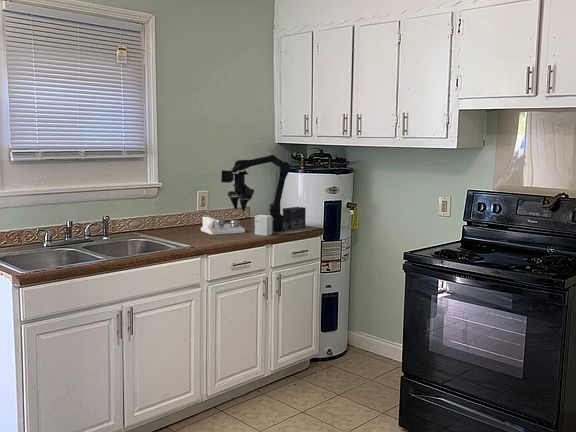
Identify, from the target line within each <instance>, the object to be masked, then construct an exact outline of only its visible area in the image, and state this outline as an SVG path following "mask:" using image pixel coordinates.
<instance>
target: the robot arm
mask: <svg viewBox="0 0 576 432" xmlns="http://www.w3.org/2000/svg"><path fill="white" fill-rule="evenodd" d="M268 163H272V164H274V165H275V166H276V167H278V168H277V170H278V171H277V173H278V175H277V176H278V177H277V182H276V186H275V190H274V196H273V201H272V202H271V203H270V202H269V204H268V208H267V210H268V214H269V216H272V232H284V231H286V229H284V228H283V219H284V217H283V214H281V201H282V196H283V192H284V187H285V183H286V179H287V176H288V174H289V172H290V169H291V164H290V163H289V162H287V161H283V160H281V159H279V158H278V157H277V156H276V155H274V154H269V155H266V156H265V155H264V156H260V157H256V158H252V159H251V158H250V159H237V160H235V162H234V164H233V166H232V168H231V169H230V170H221V173H220V182H221V184H222V183H226V184H227V183H228V184H229V183H232V182H233V181H234V184H232V186H233V187H234V190H229V191H228V192H227V197H228V198H229V199H230V201H231V204H232V206H233V208H234V210H238V204H239V205H240V207H241V210H242V211H241V212H245V210H246V207H247V204H248V202H250V201H251V200H252V199H253V196H254V193H255V189H253V188H251V187H249V186H247V184H246V178H245V176H246V175H249V173H248V172H247V171H246V170H247V169H249V168H250V167H255V166H259V165H263V164H268ZM238 202H239V203H238Z"/></svg>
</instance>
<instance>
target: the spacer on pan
mask: <svg viewBox="0 0 576 432" xmlns="http://www.w3.org/2000/svg"><path fill="white" fill-rule="evenodd" d="M215 220H216V221H217V222H218V226H223V225H224V224H225V220H224V219H223V218H215Z"/></svg>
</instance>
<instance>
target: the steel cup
mask: <svg viewBox="0 0 576 432" xmlns="http://www.w3.org/2000/svg"><path fill="white" fill-rule="evenodd" d="M229 222H230V223H229V224H230V226H232V227H238V226H240V220H239V219H231V220H230V221H229Z"/></svg>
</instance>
